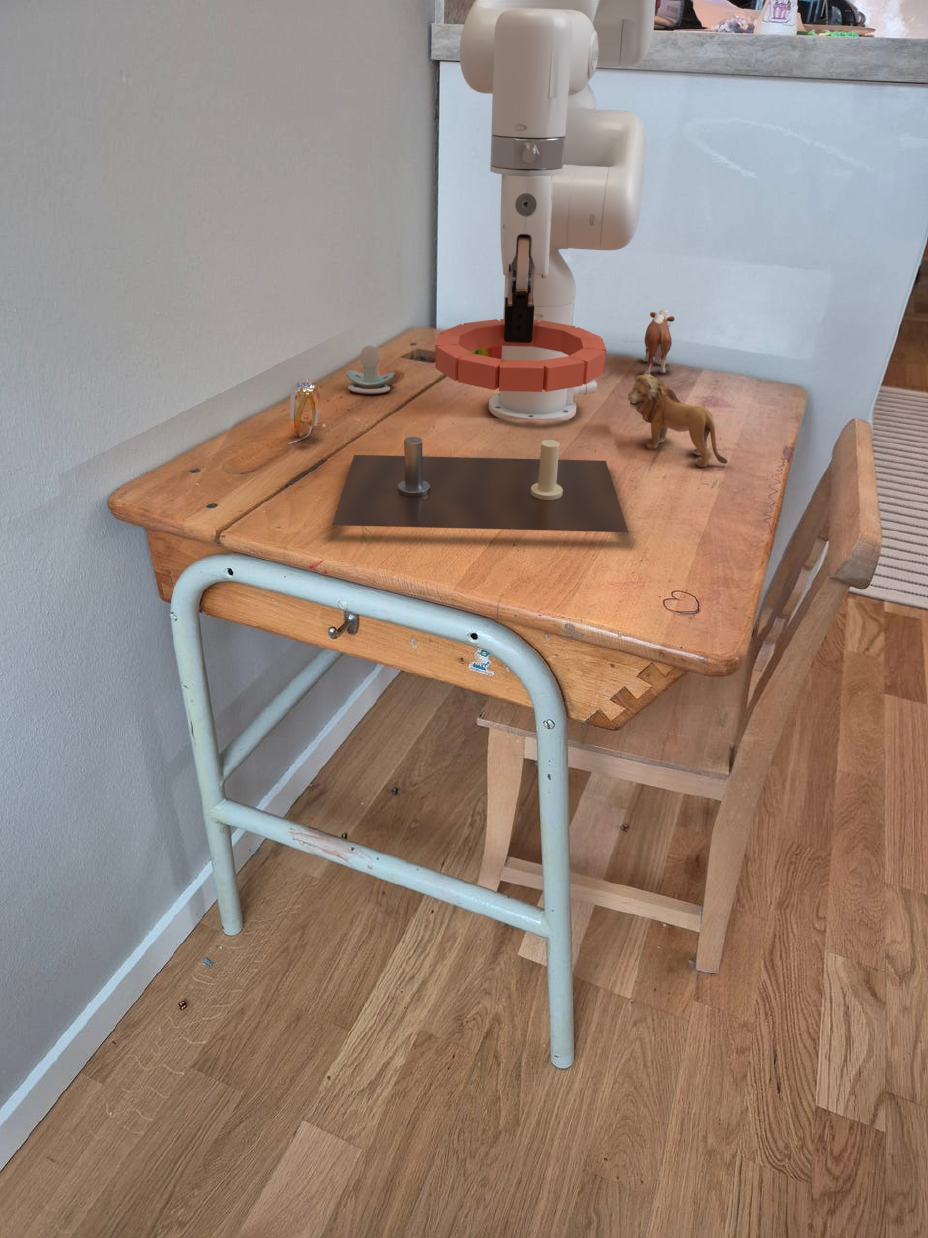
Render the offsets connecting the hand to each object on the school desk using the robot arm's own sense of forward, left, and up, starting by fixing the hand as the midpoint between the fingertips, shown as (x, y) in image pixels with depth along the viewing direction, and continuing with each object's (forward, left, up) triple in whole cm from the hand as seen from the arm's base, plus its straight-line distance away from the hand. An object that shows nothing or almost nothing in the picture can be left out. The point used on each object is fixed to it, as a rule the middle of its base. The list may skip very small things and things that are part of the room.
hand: (517, 336), depth 98 cm
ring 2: (+3, +7, -1) cm, 8 cm away
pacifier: (+7, -34, -16) cm, 39 cm away
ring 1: (+21, -17, -16) cm, 32 cm away
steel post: (+15, +5, -14) cm, 21 cm away
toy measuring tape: (-20, -37, -16) cm, 45 cm away
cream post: (+1, +11, -14) cm, 18 cm away
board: (+8, +8, -16) cm, 19 cm away
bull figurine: (-41, -29, -16) cm, 53 cm away
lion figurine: (-22, +3, -16) cm, 27 cm away
